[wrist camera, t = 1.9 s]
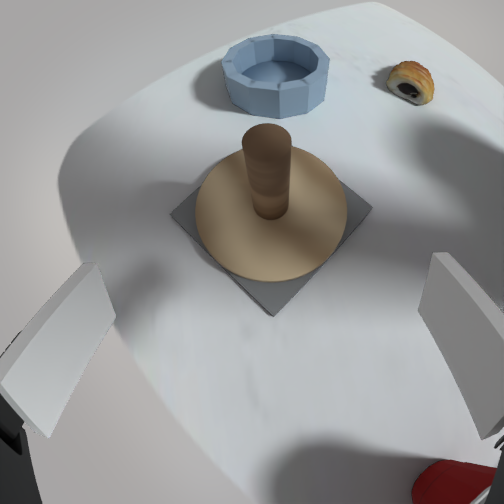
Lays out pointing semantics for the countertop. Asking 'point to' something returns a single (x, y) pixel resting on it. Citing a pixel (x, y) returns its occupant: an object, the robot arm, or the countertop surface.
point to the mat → (278, 292)
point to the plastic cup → (453, 483)
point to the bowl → (276, 75)
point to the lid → (271, 209)
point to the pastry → (411, 82)
